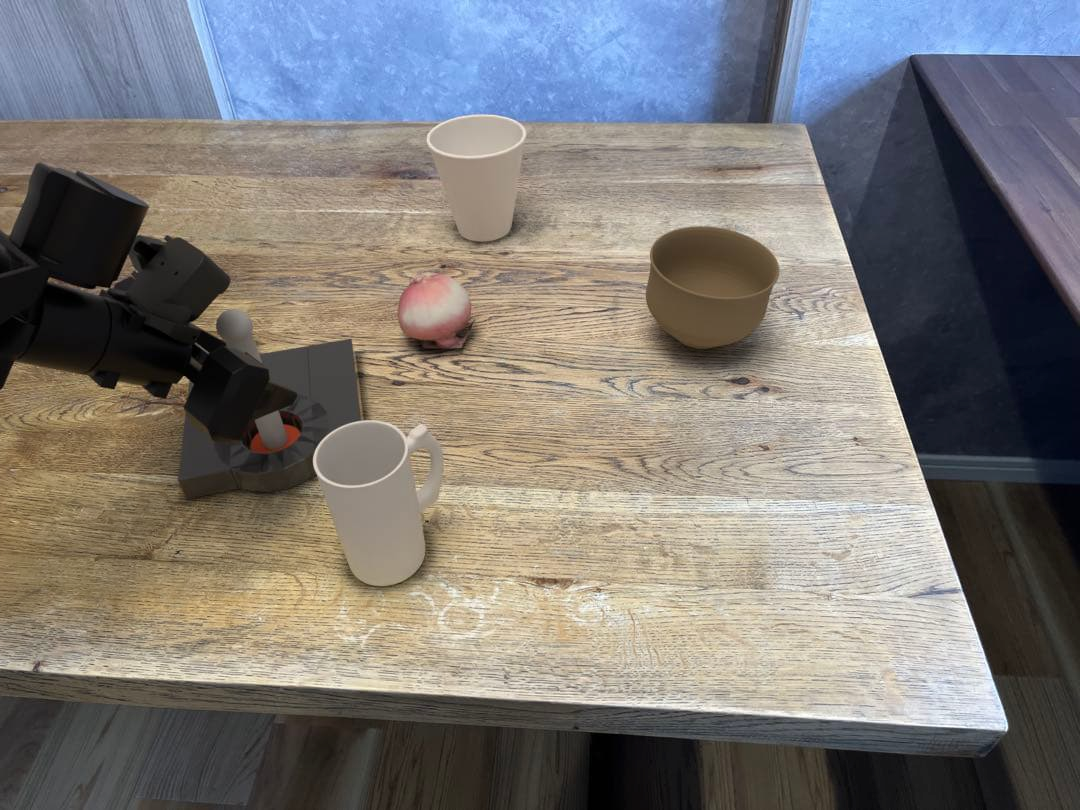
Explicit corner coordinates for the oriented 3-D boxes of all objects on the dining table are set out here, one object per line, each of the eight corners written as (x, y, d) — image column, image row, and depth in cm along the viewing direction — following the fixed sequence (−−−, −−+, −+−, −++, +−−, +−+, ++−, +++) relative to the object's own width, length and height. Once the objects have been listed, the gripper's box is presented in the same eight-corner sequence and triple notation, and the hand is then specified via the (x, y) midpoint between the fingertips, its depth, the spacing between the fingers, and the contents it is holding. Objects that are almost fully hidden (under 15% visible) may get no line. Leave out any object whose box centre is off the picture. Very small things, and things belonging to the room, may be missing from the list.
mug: (376, 605, 63) (346, 503, 55) (329, 555, 67) (294, 452, 59) (476, 533, 68) (462, 429, 60) (428, 490, 72) (408, 386, 63)
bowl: (763, 383, 80) (780, 299, 74) (635, 367, 83) (639, 284, 76) (767, 309, 89) (782, 228, 83) (651, 296, 92) (657, 217, 85)
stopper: (253, 472, 74) (197, 333, 63) (254, 438, 77) (201, 300, 66) (304, 463, 74) (258, 323, 64) (303, 429, 78) (259, 291, 67)
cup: (535, 205, 108) (531, 114, 100) (525, 253, 99) (520, 157, 91) (447, 204, 109) (436, 113, 101) (430, 251, 101) (416, 156, 92)
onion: (457, 307, 92) (451, 251, 87) (488, 343, 87) (483, 286, 82) (391, 329, 89) (380, 274, 84) (419, 368, 84) (409, 312, 79)
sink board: (185, 509, 71) (176, 489, 69) (198, 384, 83) (190, 365, 82) (370, 472, 73) (365, 453, 72) (356, 357, 86) (351, 338, 84)
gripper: (203, 278, 52) (371, 334, 65) (73, 189, 61) (243, 253, 74) (133, 433, 53) (312, 457, 66) (16, 322, 62) (193, 362, 76)
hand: (263, 375), depth 71 cm, fingers open, 9 cm apart
